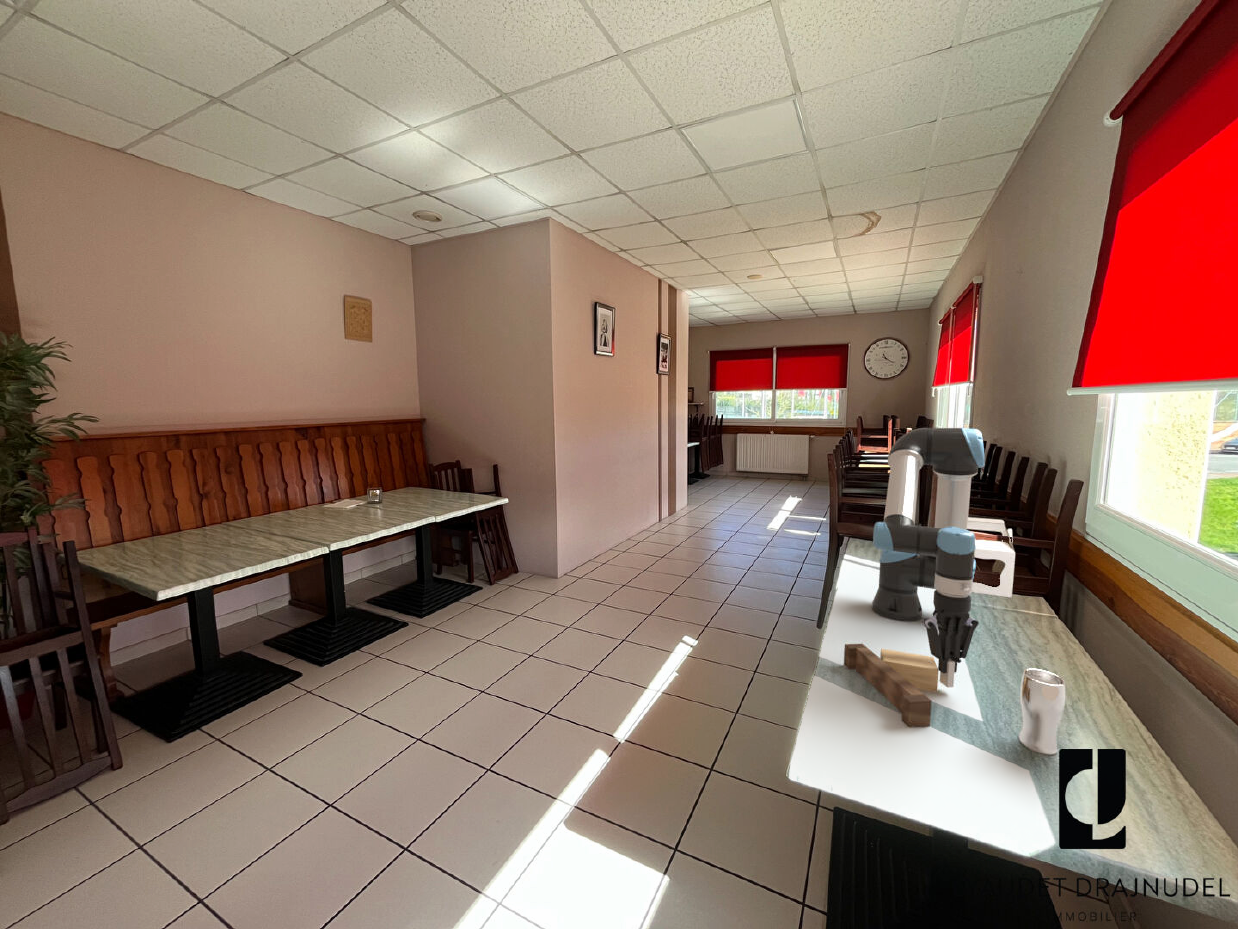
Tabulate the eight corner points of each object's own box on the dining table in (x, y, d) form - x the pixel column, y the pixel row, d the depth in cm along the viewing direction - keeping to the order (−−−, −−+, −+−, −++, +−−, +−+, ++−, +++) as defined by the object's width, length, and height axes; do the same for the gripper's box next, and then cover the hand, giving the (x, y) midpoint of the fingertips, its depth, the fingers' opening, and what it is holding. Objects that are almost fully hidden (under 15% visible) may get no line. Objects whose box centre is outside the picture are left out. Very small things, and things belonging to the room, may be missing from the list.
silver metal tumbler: (1064, 761, 97) (1070, 689, 95) (1019, 748, 100) (1024, 679, 99) (1056, 741, 102) (1062, 673, 101) (1013, 730, 106) (1019, 664, 105)
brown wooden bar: (843, 665, 134) (844, 644, 133) (861, 664, 134) (862, 643, 134) (908, 727, 107) (909, 701, 107) (929, 726, 108) (931, 700, 107)
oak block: (879, 669, 132) (880, 648, 131) (931, 679, 127) (933, 657, 126) (882, 682, 125) (883, 660, 125) (937, 693, 121) (938, 670, 120)
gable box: (941, 588, 191) (946, 518, 188) (937, 578, 203) (941, 512, 200) (1012, 598, 181) (1018, 524, 178) (1004, 586, 193) (1009, 517, 190)
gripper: (938, 599, 114) (932, 694, 116) (990, 597, 115) (983, 691, 117) (916, 587, 121) (911, 677, 124) (965, 586, 122) (959, 675, 125)
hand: (946, 684), depth 121 cm, fingers closed
